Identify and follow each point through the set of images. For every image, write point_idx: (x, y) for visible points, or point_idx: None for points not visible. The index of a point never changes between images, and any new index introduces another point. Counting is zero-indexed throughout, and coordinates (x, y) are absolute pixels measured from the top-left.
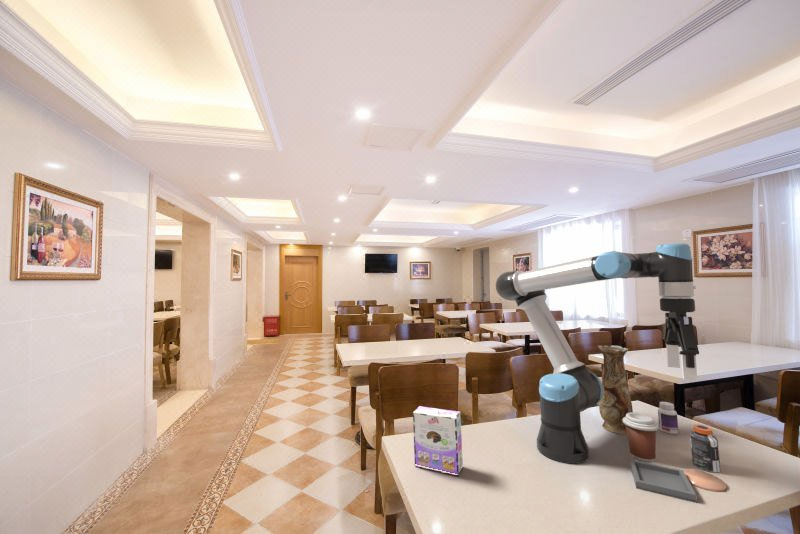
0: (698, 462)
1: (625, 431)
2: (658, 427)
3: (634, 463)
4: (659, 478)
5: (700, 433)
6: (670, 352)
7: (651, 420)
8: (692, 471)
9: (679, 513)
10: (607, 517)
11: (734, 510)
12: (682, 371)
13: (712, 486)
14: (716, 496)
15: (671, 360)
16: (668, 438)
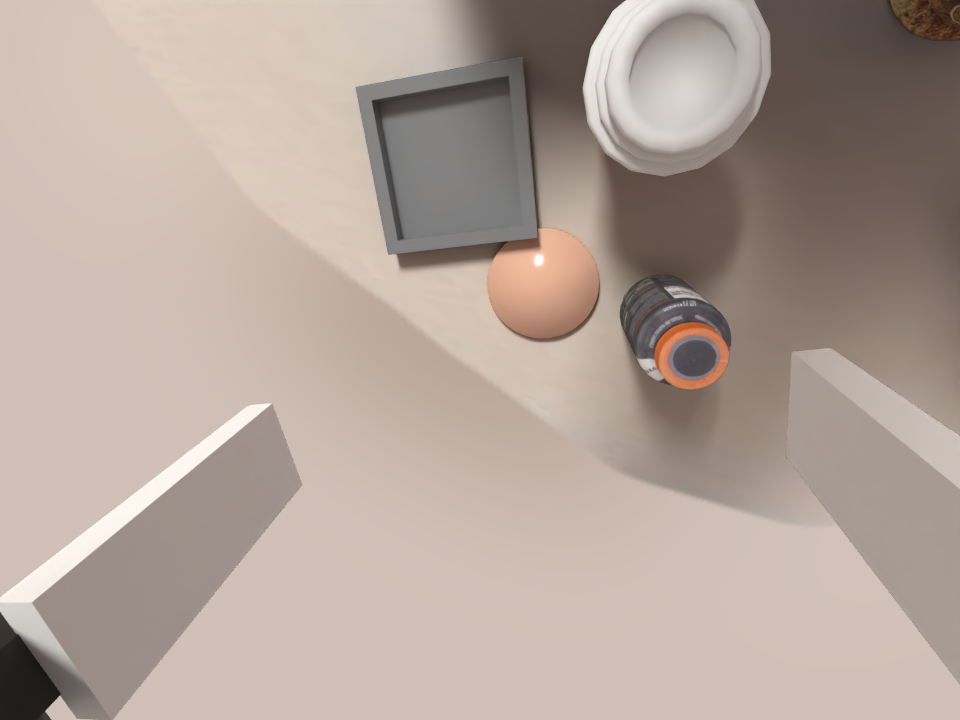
0: (632, 292)
1: (910, 10)
2: (654, 174)
3: (491, 76)
4: (465, 163)
5: (659, 339)
6: (932, 512)
7: (640, 141)
8: (578, 265)
9: (311, 204)
10: (151, 19)
11: (417, 327)
12: (226, 439)
13: (504, 303)
14: (465, 302)
15: (839, 431)
16: (907, 215)
